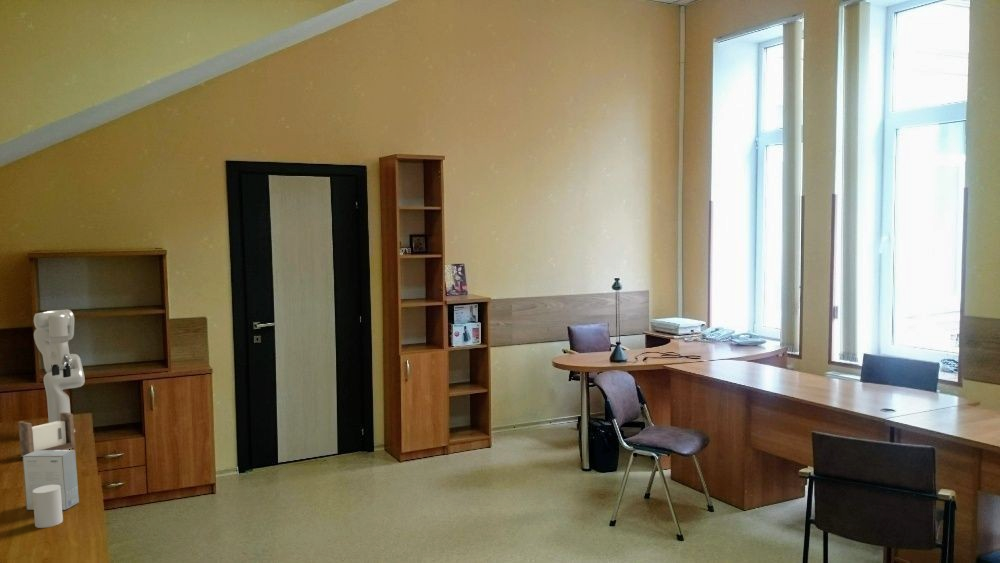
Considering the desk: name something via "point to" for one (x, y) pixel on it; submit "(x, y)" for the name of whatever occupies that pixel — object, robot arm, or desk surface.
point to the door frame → (27, 447)
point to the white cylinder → (47, 506)
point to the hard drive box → (51, 474)
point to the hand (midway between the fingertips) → (61, 376)
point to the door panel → (48, 435)
